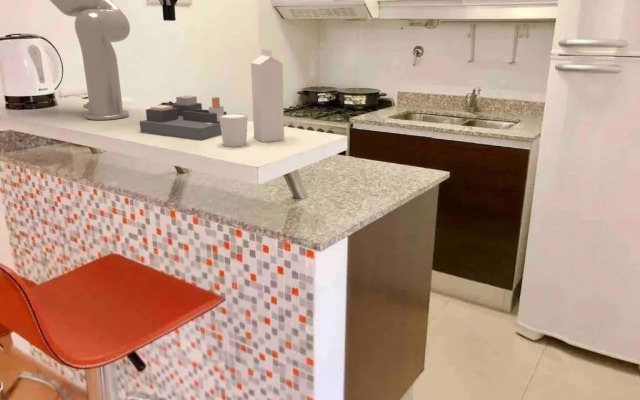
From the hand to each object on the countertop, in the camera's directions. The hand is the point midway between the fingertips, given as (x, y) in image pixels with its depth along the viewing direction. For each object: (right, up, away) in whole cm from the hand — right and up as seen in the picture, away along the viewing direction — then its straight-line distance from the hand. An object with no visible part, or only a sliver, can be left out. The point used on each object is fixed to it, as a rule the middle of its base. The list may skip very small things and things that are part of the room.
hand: (169, 20), depth 151 cm
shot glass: (+22, -37, -20) cm, 48 cm away
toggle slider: (+15, -30, -8) cm, 34 cm away
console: (+8, -31, -4) cm, 33 cm away
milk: (+29, -35, -15) cm, 48 cm away
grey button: (+5, -25, +2) cm, 25 cm away
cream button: (0, -29, -6) cm, 29 cm away
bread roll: (-6, -23, +22) cm, 32 cm away
